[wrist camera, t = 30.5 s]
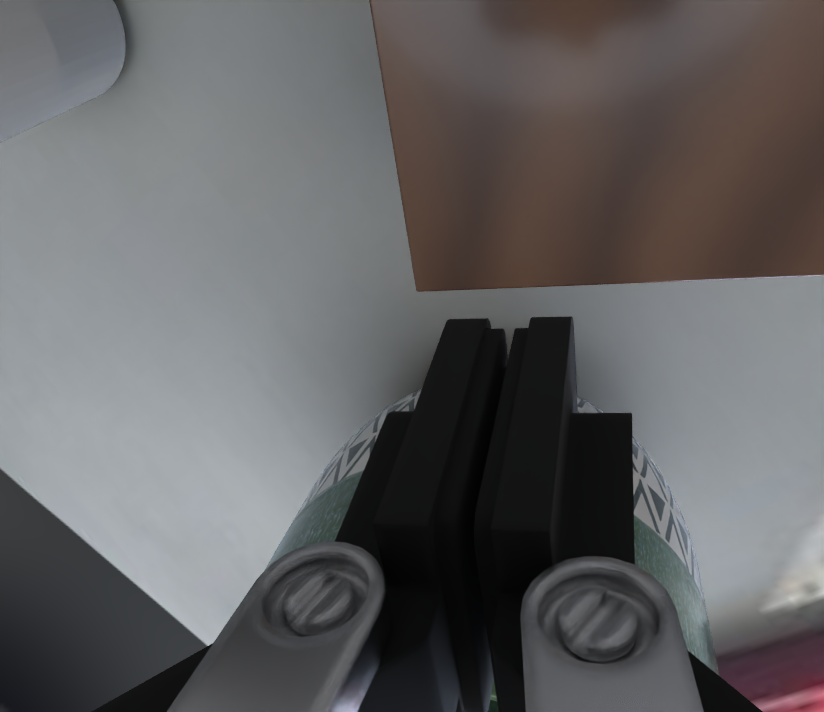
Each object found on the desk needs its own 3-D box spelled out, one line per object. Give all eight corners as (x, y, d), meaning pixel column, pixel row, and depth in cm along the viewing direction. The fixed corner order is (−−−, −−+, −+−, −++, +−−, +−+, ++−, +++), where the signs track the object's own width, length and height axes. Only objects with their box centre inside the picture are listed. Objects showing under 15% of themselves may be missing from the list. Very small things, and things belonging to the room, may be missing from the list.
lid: (420, 282, 28) (415, 292, 28) (362, -89, 22) (354, -87, 22) (869, 263, 25) (876, 274, 24) (944, -185, 19) (956, -186, 18)
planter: (580, 227, 36) (541, 599, 18) (762, 518, 42) (863, 998, 25) (275, 389, 45) (54, 740, 27) (464, 607, 51) (383, 1004, 34)
